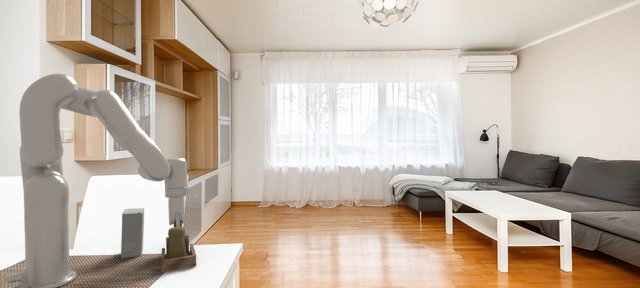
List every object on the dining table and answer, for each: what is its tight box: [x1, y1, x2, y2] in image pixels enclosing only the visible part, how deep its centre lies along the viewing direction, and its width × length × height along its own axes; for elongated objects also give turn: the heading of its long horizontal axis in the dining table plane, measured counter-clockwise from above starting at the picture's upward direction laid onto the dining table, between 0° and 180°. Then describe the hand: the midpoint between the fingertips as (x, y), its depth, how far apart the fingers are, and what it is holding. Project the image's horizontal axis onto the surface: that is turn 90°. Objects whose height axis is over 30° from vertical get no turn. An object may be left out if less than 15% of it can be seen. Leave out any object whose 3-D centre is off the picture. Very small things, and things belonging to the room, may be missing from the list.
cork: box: [167, 226, 187, 259], centre depth 104 cm, size 6×6×11 cm
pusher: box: [165, 234, 190, 256], centre depth 111 cm, size 7×1×6 cm, turn 116°
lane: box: [160, 243, 197, 273], centre depth 106 cm, size 10×14×3 cm
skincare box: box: [120, 207, 145, 259], centre depth 114 cm, size 8×7×16 cm
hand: (178, 242), depth 116 cm, fingers closed
